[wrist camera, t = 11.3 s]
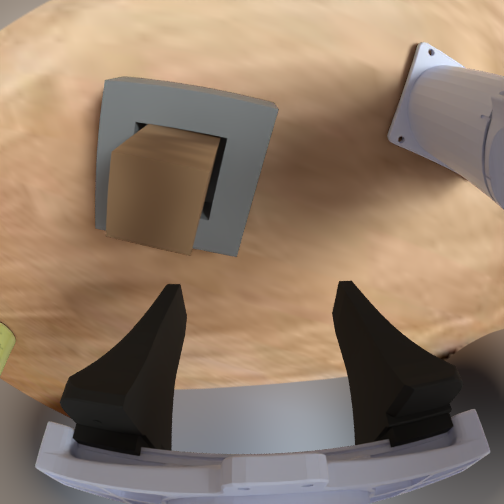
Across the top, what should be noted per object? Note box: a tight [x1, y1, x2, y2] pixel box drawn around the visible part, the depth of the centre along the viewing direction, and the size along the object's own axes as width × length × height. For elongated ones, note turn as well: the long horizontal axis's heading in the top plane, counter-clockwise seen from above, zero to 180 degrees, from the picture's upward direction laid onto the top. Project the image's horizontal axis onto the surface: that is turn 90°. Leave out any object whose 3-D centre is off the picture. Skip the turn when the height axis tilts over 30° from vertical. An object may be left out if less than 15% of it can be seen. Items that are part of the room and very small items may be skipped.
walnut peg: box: [106, 124, 221, 256], centre depth 16 cm, size 4×4×8 cm
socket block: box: [95, 77, 279, 257], centre depth 19 cm, size 10×10×3 cm
